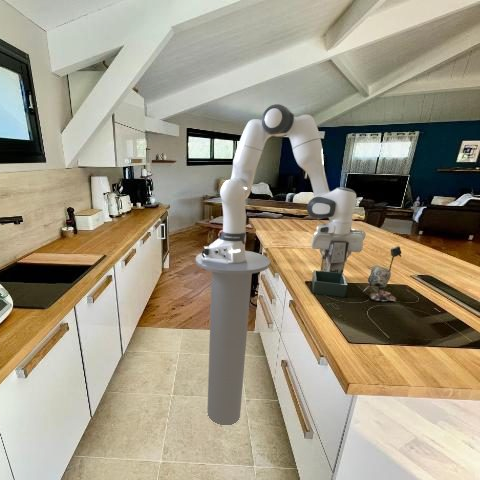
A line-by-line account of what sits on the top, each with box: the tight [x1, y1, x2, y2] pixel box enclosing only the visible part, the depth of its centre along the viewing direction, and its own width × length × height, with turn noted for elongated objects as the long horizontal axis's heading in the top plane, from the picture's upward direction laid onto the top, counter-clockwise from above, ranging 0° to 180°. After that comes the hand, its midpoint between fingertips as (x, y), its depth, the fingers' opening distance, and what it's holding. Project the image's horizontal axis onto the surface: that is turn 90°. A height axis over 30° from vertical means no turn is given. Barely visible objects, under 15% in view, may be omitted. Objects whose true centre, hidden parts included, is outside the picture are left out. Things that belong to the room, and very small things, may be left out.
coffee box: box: [319, 241, 349, 274], centre depth 136 cm, size 9×6×16 cm
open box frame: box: [311, 269, 348, 298], centre depth 126 cm, size 12×15×5 cm
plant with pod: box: [362, 245, 402, 302], centre depth 115 cm, size 8×11×20 cm
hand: (333, 260), depth 136 cm, fingers closed on coffee box, 7 cm apart
